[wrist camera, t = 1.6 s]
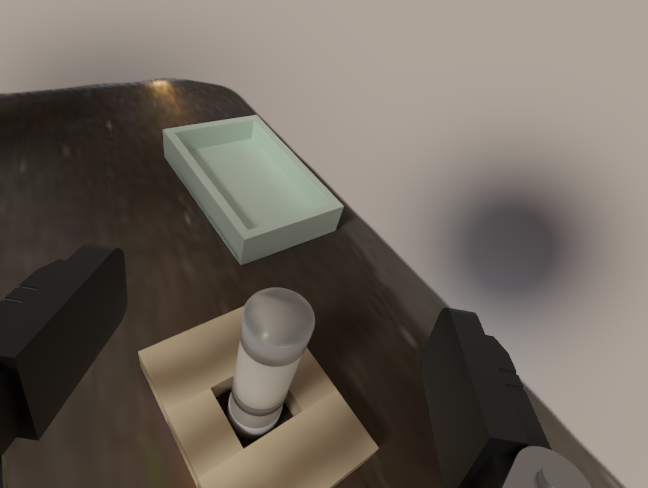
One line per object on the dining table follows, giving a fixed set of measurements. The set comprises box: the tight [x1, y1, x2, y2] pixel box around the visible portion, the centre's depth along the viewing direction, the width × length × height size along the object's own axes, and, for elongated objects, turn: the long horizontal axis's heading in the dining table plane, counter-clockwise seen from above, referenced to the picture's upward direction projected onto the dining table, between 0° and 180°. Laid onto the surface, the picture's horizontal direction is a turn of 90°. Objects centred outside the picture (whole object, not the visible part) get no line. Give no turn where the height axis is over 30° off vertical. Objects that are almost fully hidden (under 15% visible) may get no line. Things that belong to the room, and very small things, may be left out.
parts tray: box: [163, 115, 344, 265], centre depth 50 cm, size 20×13×4 cm, turn 37°
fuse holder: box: [138, 306, 379, 488], centre depth 33 cm, size 16×12×2 cm
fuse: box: [227, 287, 315, 439], centre depth 29 cm, size 4×4×14 cm
